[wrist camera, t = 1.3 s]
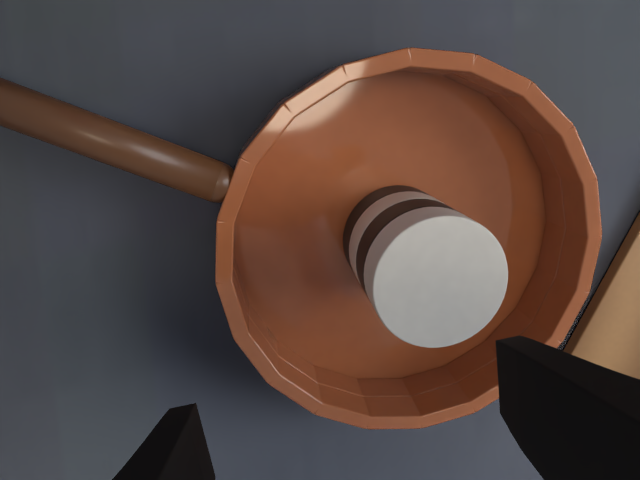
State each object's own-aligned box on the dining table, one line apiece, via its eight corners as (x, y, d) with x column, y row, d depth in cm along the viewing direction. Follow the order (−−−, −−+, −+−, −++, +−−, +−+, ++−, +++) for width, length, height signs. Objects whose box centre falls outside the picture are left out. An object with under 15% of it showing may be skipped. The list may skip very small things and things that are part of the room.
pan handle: (244, 167, 18) (243, 173, 17) (230, 204, 18) (228, 212, 17) (-76, 45, 16) (-106, 41, 15) (-85, 89, 16) (-116, 88, 15)
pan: (611, 139, 22) (670, 146, 19) (465, 420, 25) (495, 466, 22) (298, -9, 19) (307, -29, 16) (173, 332, 22) (160, 372, 18)
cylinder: (463, 207, 21) (532, 244, 16) (419, 300, 22) (471, 364, 17) (368, 168, 20) (408, 195, 15) (326, 268, 21) (350, 324, 16)
